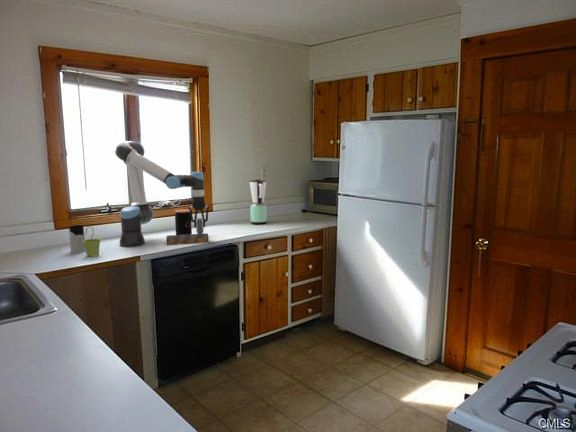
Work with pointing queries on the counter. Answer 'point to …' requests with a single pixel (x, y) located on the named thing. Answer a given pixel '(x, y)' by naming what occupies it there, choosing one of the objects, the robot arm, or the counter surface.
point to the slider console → (187, 239)
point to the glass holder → (77, 238)
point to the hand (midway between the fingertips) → (199, 232)
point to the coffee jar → (183, 222)
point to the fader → (199, 226)
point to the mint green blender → (258, 202)
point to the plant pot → (92, 247)
